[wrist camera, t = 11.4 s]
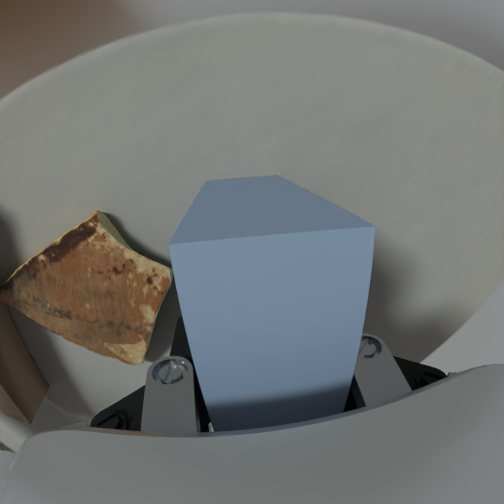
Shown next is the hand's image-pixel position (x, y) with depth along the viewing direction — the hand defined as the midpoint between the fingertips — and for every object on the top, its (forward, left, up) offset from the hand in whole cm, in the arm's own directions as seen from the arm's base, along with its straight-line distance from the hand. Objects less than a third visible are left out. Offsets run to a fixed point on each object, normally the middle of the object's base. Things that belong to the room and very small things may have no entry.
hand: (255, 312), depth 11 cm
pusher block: (0, 0, -2) cm, 2 cm away
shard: (-9, 0, -3) cm, 9 cm away
